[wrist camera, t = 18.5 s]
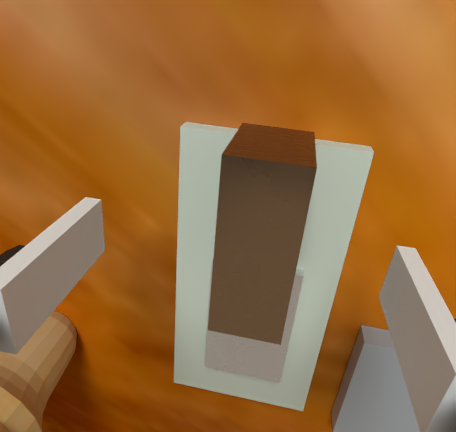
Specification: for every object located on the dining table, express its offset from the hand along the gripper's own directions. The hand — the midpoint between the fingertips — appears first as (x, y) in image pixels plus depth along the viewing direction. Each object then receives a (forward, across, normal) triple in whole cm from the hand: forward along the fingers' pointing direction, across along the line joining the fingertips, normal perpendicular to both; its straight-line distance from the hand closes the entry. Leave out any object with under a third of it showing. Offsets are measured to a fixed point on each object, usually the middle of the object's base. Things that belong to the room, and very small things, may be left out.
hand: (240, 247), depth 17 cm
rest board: (+8, +1, -8) cm, 11 cm away
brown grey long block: (+7, +1, -6) cm, 9 cm away
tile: (+7, +13, -10) cm, 18 cm away
